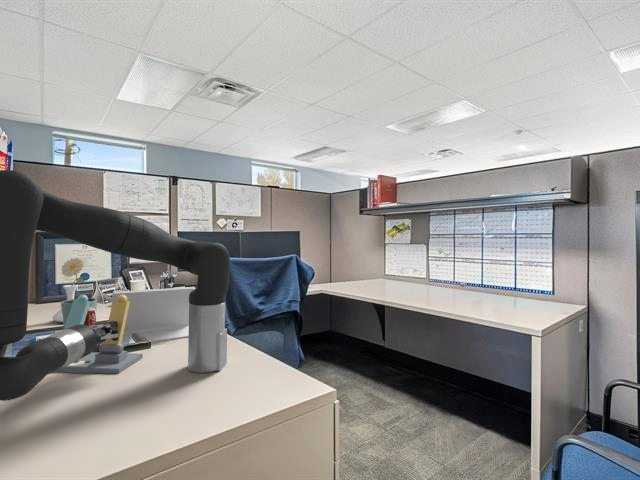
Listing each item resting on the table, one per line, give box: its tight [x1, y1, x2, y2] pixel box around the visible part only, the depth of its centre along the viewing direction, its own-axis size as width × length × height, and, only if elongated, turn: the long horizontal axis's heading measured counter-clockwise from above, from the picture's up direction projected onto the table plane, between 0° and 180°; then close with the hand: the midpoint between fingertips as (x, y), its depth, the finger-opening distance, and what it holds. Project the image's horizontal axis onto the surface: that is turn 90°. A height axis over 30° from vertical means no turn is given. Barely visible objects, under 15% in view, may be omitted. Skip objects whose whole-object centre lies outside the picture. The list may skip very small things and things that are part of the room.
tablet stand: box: [111, 286, 196, 344], centre depth 121 cm, size 18×25×17 cm
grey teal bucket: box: [60, 297, 98, 328], centre depth 119 cm, size 10×10×12 cm
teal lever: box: [63, 294, 90, 330], centre depth 97 cm, size 5×3×16 cm, turn 89°
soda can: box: [84, 307, 97, 326], centre depth 107 cm, size 5×5×12 cm
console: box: [53, 350, 143, 374], centre depth 94 cm, size 23×11×3 cm, turn 89°
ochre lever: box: [98, 295, 130, 353], centre depth 96 cm, size 5×3×16 cm, turn 89°
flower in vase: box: [52, 257, 85, 323], centre depth 137 cm, size 13×11×25 cm
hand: (114, 324), depth 95 cm, fingers closed
